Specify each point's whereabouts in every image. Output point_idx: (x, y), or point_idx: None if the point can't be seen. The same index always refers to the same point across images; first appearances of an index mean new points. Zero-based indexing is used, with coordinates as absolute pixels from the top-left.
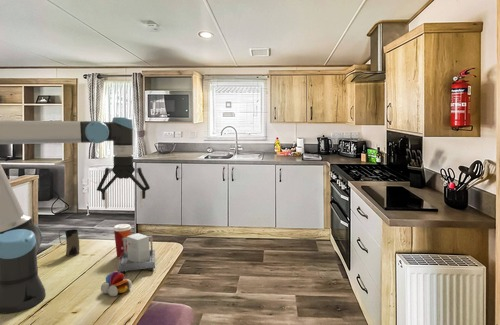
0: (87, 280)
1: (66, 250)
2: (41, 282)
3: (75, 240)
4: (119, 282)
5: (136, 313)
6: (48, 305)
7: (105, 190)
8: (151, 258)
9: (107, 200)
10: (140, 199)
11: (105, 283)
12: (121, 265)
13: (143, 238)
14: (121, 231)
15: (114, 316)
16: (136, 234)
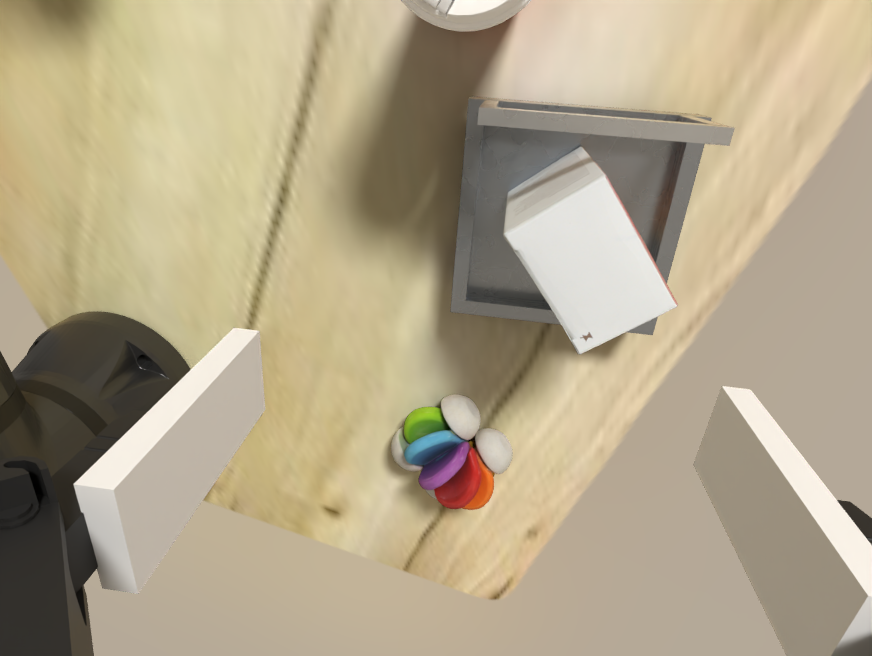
0: (319, 296)
1: None
2: (152, 405)
3: None
4: (462, 507)
5: (516, 582)
6: None
7: (88, 623)
8: (653, 217)
9: (215, 420)
10: (739, 552)
11: (407, 467)
12: (469, 313)
13: (627, 330)
14: (459, 23)
15: (452, 572)
16: (587, 218)
